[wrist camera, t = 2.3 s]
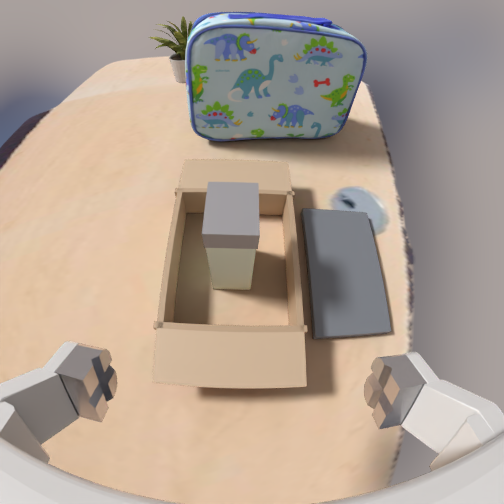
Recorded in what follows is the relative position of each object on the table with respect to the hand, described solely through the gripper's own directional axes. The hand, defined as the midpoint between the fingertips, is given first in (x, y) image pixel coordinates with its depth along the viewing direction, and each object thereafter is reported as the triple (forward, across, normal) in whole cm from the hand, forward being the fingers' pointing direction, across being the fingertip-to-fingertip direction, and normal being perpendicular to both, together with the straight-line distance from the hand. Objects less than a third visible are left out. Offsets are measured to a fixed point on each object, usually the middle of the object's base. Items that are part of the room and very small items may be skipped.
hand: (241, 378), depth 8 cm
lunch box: (+43, +4, +13) cm, 45 cm away
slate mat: (+23, +12, -5) cm, 27 cm away
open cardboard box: (+23, -1, -5) cm, 24 cm away
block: (+23, -1, -5) cm, 24 cm away
